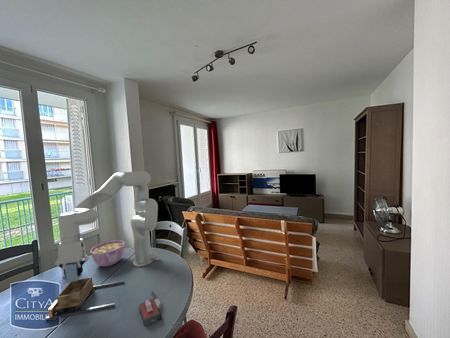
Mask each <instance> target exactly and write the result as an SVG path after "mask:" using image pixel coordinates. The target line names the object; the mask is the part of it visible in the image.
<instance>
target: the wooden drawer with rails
mask: <svg viewBox="0 0 450 338" xmlns="http://www.w3.org/2000/svg"><path fill="white" fill-rule="evenodd" d="M122 284H125V280H117V281H113V282H108V283H103V284H102V283H101V284H96V285H94V289H93V290H96V289H102V288H106V287H112V286H117V285H122ZM115 306H116V303H115V302H112V303H107V304H102V305H97V306H92V307H87V308H81V310H77V311H76V310H72V311H68V312H63V313H62V314H57V315H55V313H56V312H57V310H56V307H57V299H56V300H54V302H53V303H52V304H51V305H50V306H49V308H48V316H46V317H45V321H46V320H48V321H52V320H51V319H53V320H56V319H55V318H58V319H60V318H59V317H63V318H66V317H67V316H68V317H72V316H75V315H81V314H87V313H90V312H96V311H100V310H105V309H110V308H115ZM68 317H67V318H68Z"/></svg>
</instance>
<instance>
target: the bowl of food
mask: <svg viewBox="0 0 450 338" xmlns="http://www.w3.org/2000/svg"><path fill="white" fill-rule="evenodd" d="M124 250H125V241H124V240H122V239H121V240H120V239H117V240H116V239H115V240H108V241H104V242H101V243H99V244H96V245H95V246H93V247H92V248H91V249H90V251H89V252H90V255H91V258H92V260H93V262H94V264H96V265H97V266H100V267H104V268H105V267H110V266H113V265H115V264H116V263H118V262H119V261H120V260H121V259H122V257H124V252H125V251H124Z"/></svg>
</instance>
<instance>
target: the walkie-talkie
mask: <svg viewBox="0 0 450 338" xmlns="http://www.w3.org/2000/svg"><path fill="white" fill-rule="evenodd" d="M151 295H152V298H151V299H147V300H144V301H143V302H142V303H140V304H139V305H138V312H139V314H140V317H141V319H142V323H143V326H144V327H147V325H148V326H149V324H150V325H152V324H154V323H155V322H158V321H160V320H162V317H163V316H162V314H161V312H160V310H161V305H162V303H161V302H160V299H159V298H158V297H157V296H156V294H155V292H154V291H151ZM153 322H154V323H153ZM151 323H152V324H151Z"/></svg>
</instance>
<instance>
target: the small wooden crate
mask: <svg viewBox="0 0 450 338" xmlns="http://www.w3.org/2000/svg"><path fill="white" fill-rule="evenodd" d="M94 286H95V283H94V282H93V276H89V277H85V278H79V279H78V280H77V281H72V282H68V283H67V284H66V286H65V287H64V288H63V289H62V291H61V292H59V294H58V295H57V297H56V300H57V307H56V310H57V314H62V313H65V311H66V309H67V308H72V307H73V308H74V311H77V310H82V309H83V303H84V302H85V300H86V298H87V297H88V296H89V293H91V292H93V291H94V290H95V289H94Z"/></svg>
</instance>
